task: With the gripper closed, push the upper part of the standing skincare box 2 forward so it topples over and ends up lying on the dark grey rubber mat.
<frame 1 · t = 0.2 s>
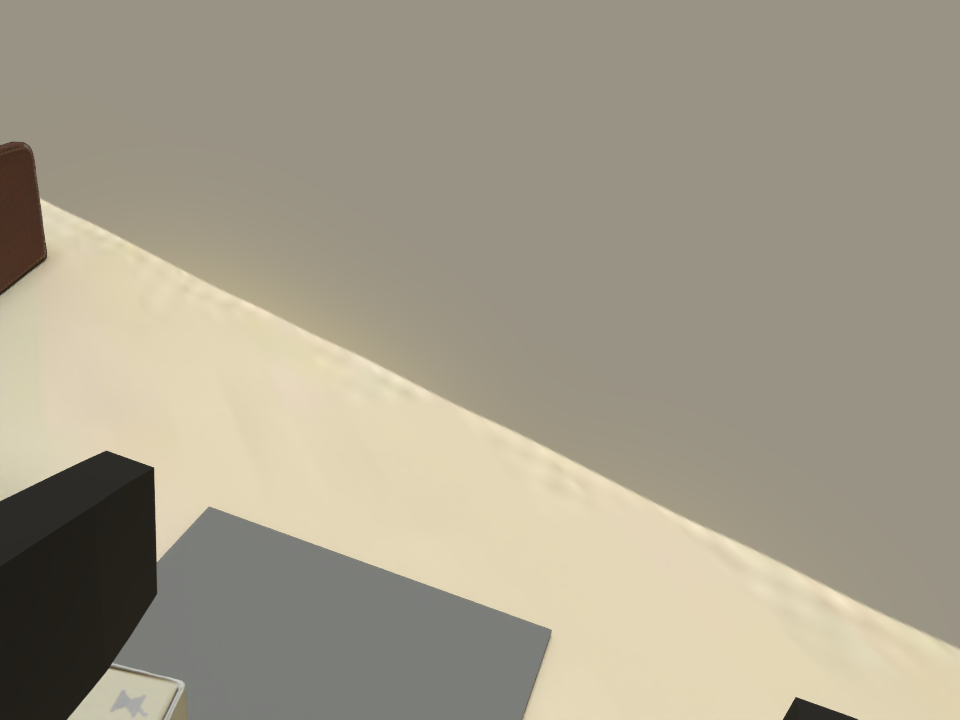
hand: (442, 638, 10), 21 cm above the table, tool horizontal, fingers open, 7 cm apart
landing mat: (283, 716, 33), on the table
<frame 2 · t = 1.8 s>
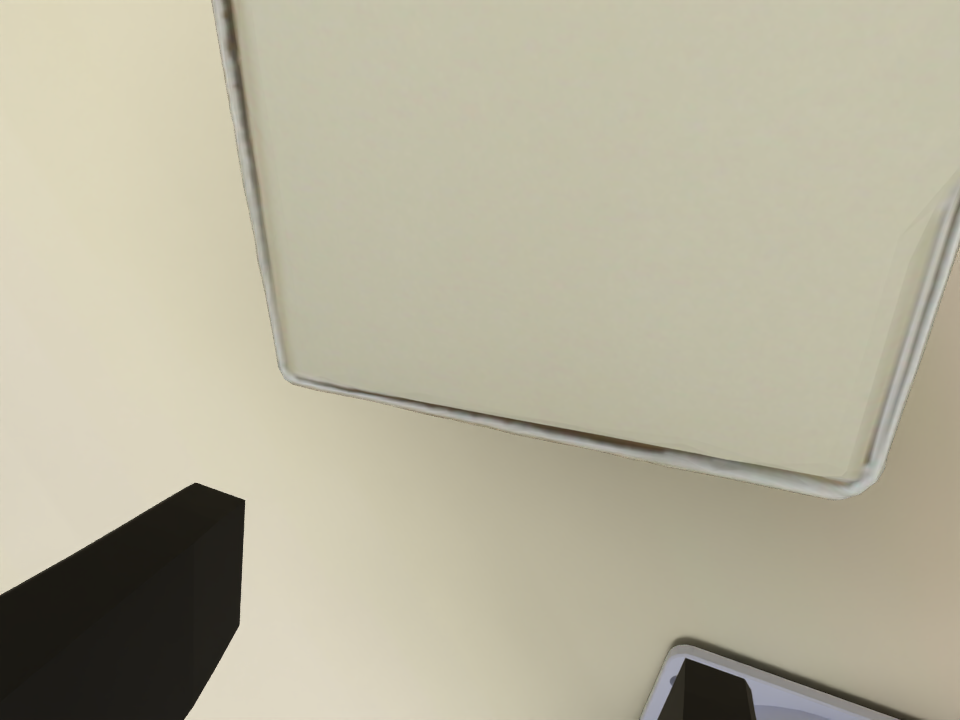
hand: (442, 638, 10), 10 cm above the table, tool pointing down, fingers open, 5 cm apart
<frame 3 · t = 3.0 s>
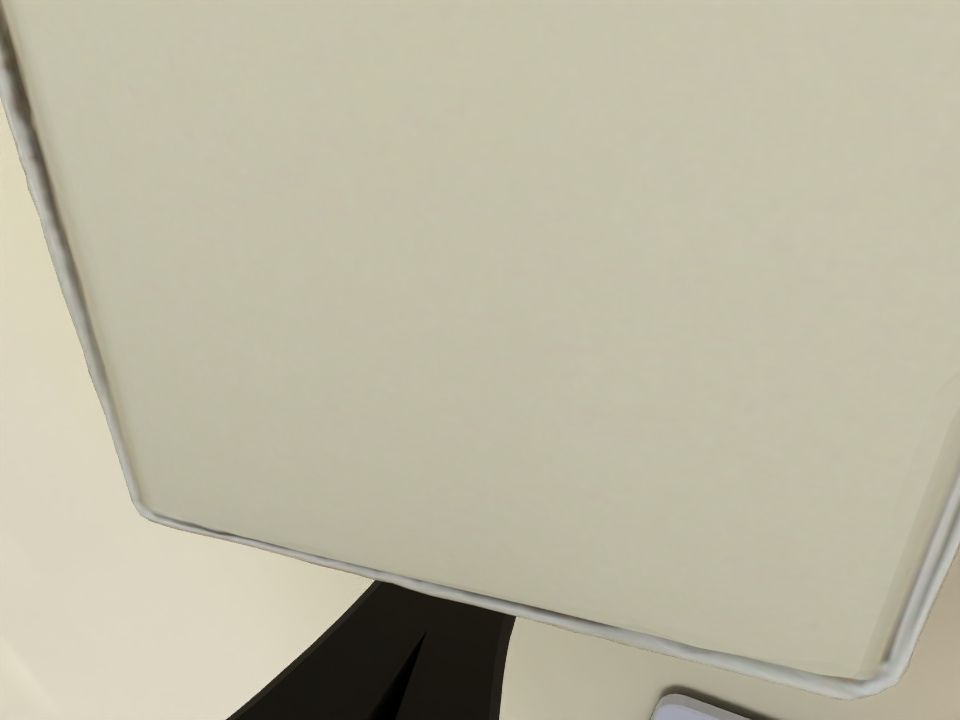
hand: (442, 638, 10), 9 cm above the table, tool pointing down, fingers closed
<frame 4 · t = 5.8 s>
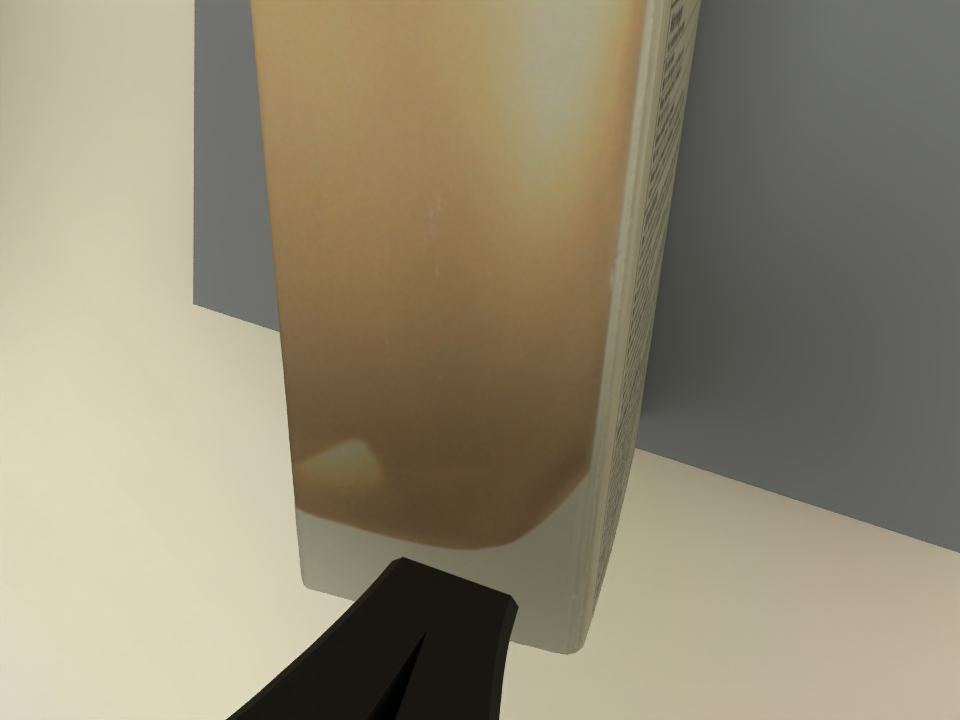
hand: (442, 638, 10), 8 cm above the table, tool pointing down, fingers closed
skincare box 2: (488, 514, 15), point 4 cm above the table, touching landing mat
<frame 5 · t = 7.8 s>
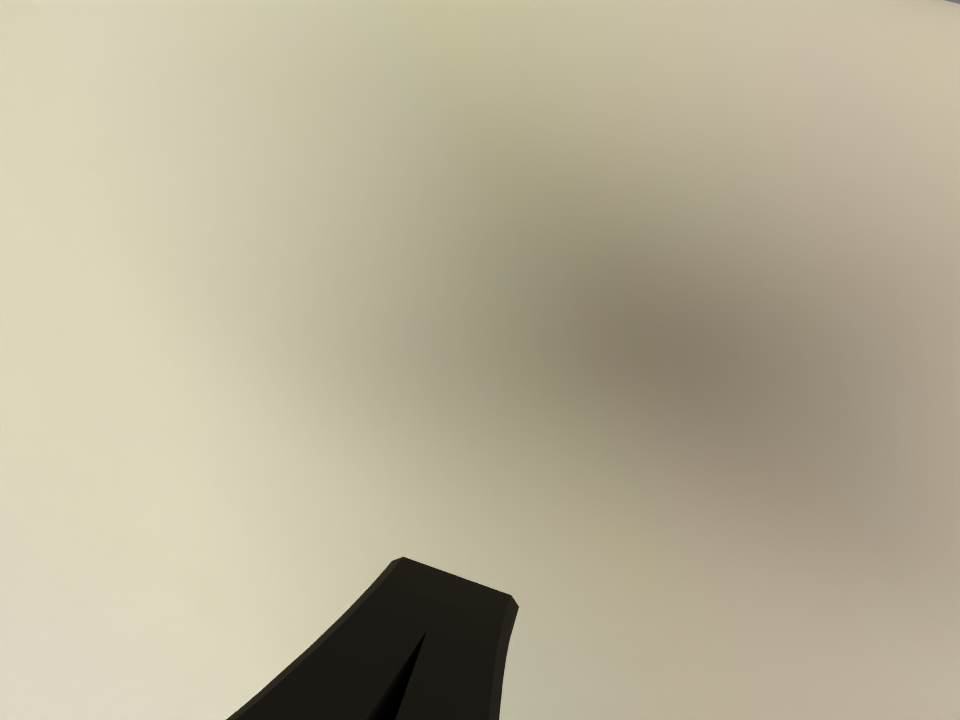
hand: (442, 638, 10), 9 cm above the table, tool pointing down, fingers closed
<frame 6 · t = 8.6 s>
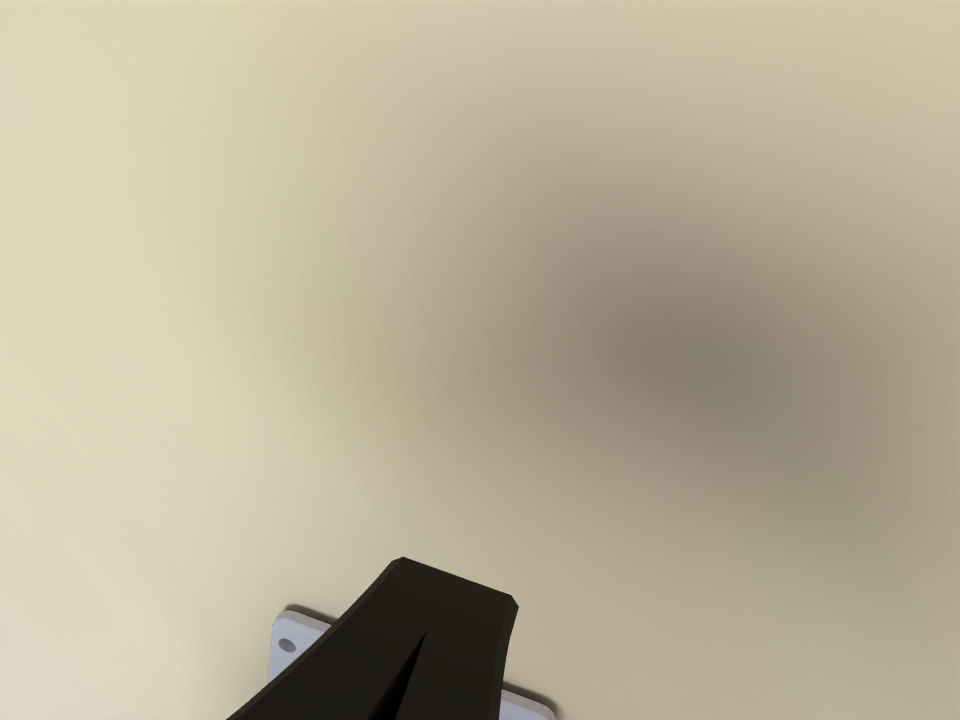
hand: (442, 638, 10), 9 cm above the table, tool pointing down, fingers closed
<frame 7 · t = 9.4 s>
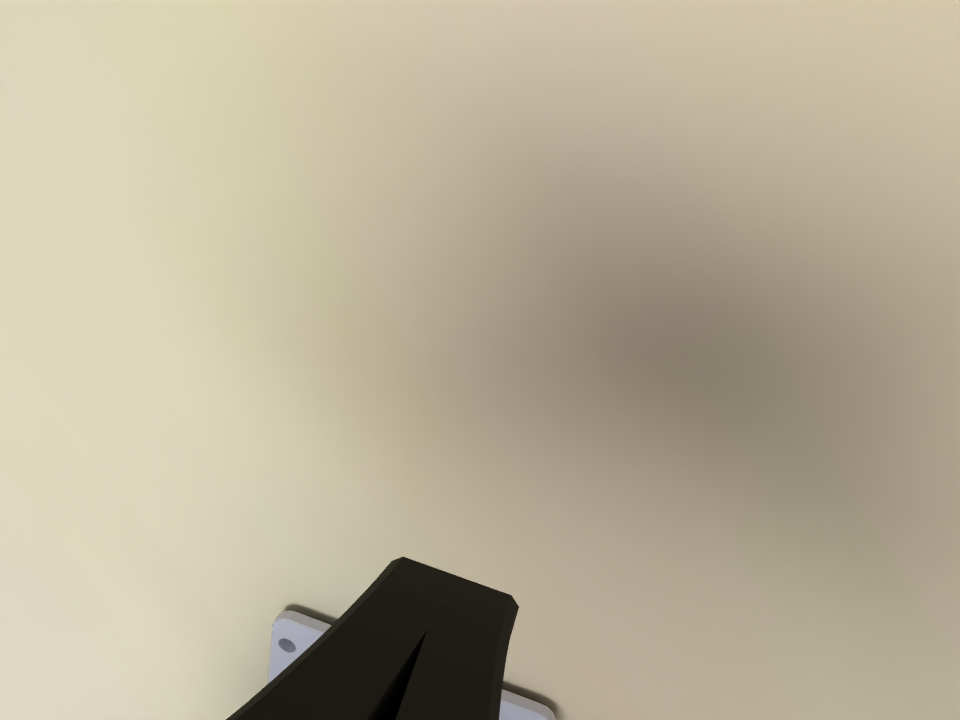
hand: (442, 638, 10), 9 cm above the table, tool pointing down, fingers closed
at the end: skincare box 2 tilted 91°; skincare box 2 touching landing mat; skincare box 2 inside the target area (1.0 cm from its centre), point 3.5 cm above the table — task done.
